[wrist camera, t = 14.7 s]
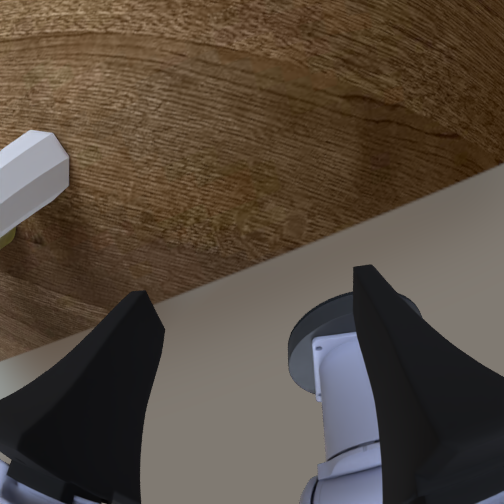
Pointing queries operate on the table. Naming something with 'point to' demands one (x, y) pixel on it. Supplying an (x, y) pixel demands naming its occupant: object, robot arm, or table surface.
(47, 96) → the table surface
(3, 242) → the vase
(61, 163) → the pepper shaker
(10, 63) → the table surface
